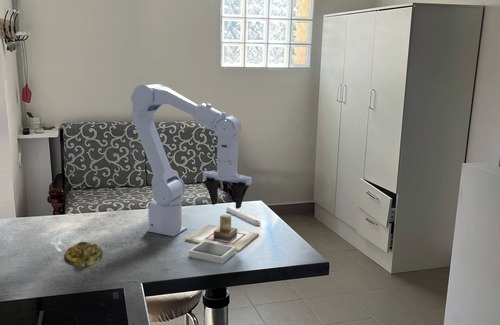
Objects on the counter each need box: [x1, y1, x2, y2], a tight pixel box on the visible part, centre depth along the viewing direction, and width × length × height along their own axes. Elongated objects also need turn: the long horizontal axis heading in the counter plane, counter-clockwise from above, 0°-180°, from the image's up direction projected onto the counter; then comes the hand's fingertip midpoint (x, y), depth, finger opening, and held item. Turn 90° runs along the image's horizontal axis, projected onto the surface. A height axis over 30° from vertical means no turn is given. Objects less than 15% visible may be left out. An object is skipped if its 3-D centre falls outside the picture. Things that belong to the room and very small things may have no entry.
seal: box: [64, 241, 103, 268], centre depth 128 cm, size 9×5×15 cm
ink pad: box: [188, 241, 237, 264], centre depth 131 cm, size 10×8×2 cm
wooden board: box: [184, 224, 260, 252], centre depth 143 cm, size 17×14×1 cm
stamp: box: [214, 214, 238, 241], centre depth 141 cm, size 5×5×6 cm
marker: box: [226, 205, 262, 226], centre depth 161 cm, size 18×2×2 cm, turn 36°
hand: (226, 205), depth 140 cm, fingers open, 7 cm apart
